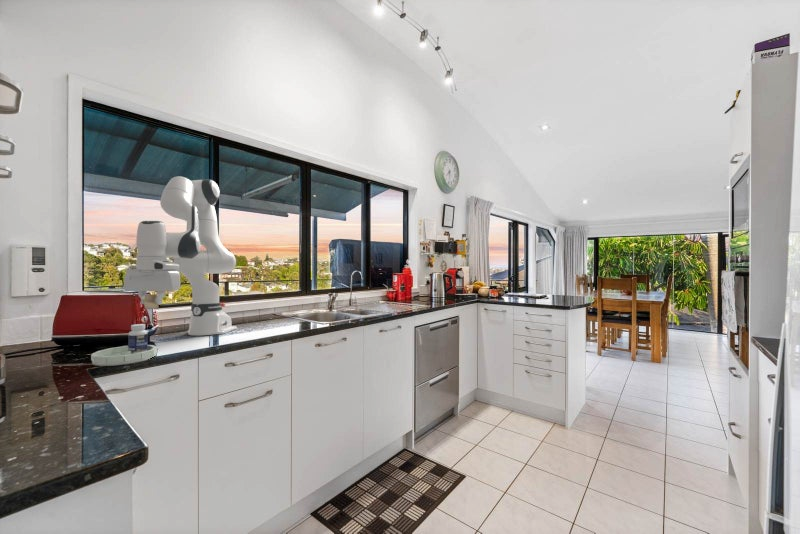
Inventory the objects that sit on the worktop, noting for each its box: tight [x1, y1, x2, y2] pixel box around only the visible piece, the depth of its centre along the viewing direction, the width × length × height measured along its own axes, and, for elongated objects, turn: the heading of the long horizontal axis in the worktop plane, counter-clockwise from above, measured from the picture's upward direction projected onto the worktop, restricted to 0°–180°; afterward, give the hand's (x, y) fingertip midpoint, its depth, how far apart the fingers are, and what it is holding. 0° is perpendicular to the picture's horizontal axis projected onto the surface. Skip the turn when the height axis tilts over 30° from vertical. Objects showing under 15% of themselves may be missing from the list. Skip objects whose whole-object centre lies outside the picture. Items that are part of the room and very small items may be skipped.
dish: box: [90, 344, 158, 367], centre depth 117 cm, size 17×17×3 cm
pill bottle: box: [127, 323, 149, 354], centre depth 121 cm, size 5×5×10 cm
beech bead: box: [144, 293, 160, 310], centre depth 123 cm, size 4×4×5 cm
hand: (151, 304), depth 123 cm, fingers closed on beech bead, 4 cm apart
